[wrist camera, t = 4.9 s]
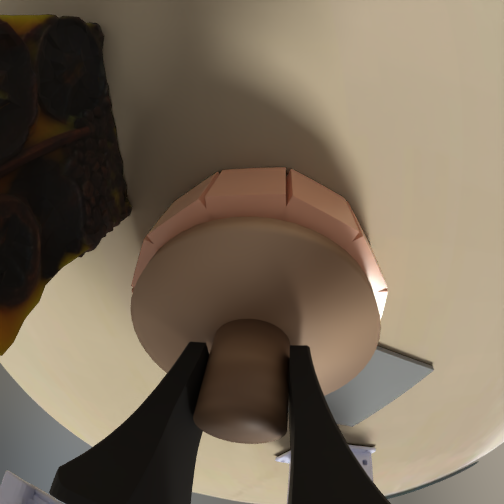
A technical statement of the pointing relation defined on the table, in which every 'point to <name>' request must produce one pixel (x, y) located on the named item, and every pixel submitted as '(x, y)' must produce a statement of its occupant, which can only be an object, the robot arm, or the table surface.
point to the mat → (375, 386)
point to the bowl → (267, 214)
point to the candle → (52, 156)
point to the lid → (255, 317)
